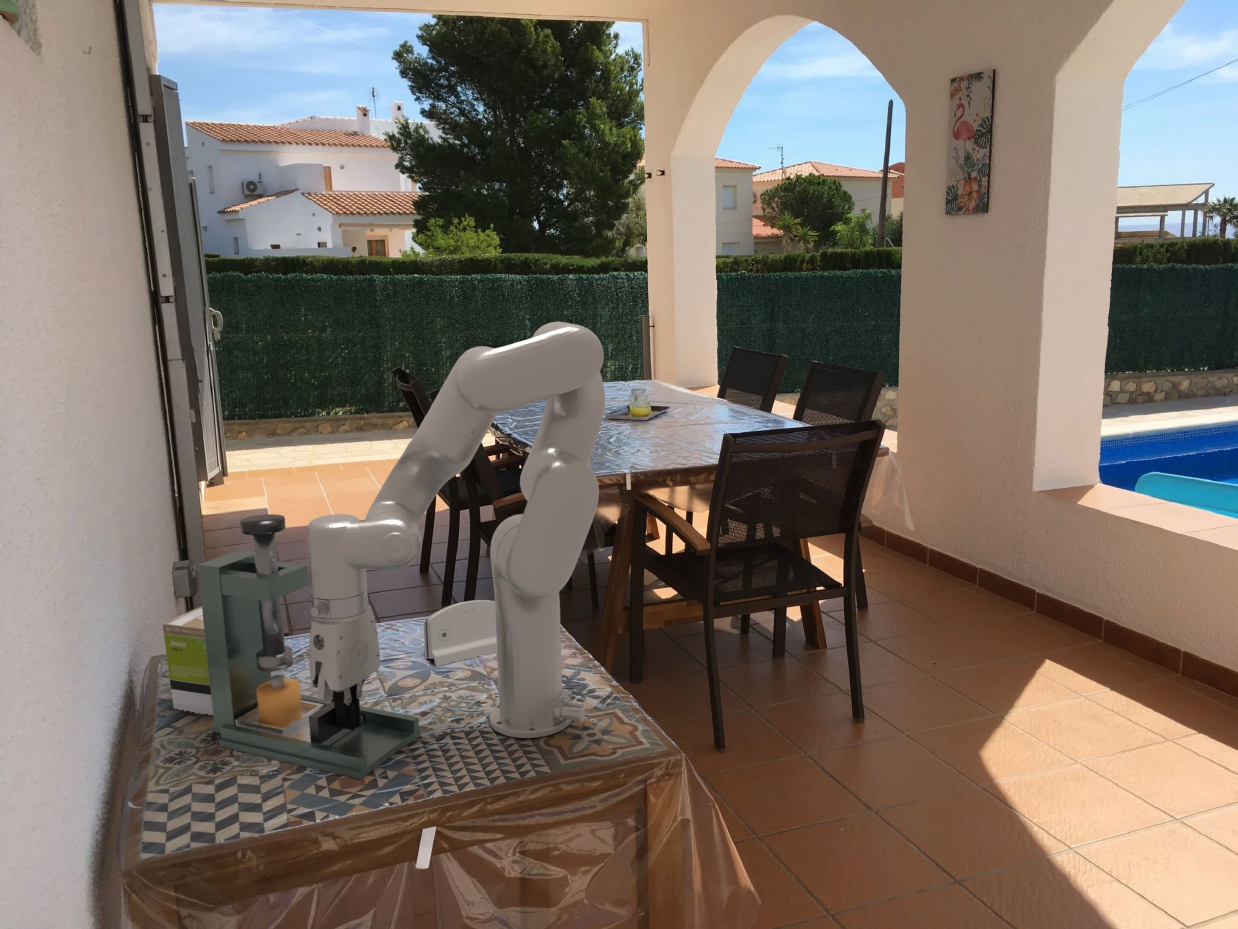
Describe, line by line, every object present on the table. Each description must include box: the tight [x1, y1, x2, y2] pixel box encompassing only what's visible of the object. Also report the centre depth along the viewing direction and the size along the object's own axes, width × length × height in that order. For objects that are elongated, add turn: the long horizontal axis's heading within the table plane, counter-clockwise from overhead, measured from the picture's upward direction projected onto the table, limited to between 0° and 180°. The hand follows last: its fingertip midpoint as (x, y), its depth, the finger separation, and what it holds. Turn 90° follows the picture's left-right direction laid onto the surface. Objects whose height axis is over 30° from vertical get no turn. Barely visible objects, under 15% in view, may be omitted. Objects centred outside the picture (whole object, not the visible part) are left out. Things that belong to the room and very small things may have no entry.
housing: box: [256, 675, 302, 727], centre depth 141 cm, size 6×6×6 cm
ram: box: [239, 513, 294, 672], centre depth 138 cm, size 6×6×22 cm
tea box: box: [162, 605, 286, 716], centre depth 153 cm, size 15×10×15 cm
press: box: [197, 549, 422, 780], centre depth 137 cm, size 29×14×26 cm, turn 67°
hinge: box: [423, 599, 497, 667], centre depth 171 cm, size 17×5×10 cm, turn 123°
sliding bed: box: [235, 698, 363, 746], centre depth 140 cm, size 15×10×5 cm, turn 67°
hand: (348, 726), depth 136 cm, fingers closed
